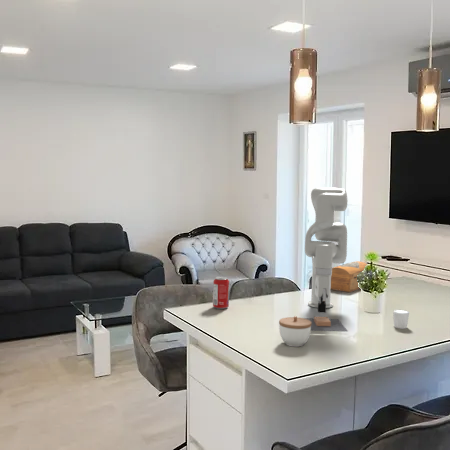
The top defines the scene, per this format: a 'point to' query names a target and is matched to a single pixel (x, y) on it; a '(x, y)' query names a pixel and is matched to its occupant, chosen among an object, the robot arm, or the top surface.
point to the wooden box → (346, 276)
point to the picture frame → (322, 321)
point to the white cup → (400, 318)
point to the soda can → (221, 293)
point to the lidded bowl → (294, 330)
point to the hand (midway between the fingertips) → (321, 311)
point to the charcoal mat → (335, 326)
